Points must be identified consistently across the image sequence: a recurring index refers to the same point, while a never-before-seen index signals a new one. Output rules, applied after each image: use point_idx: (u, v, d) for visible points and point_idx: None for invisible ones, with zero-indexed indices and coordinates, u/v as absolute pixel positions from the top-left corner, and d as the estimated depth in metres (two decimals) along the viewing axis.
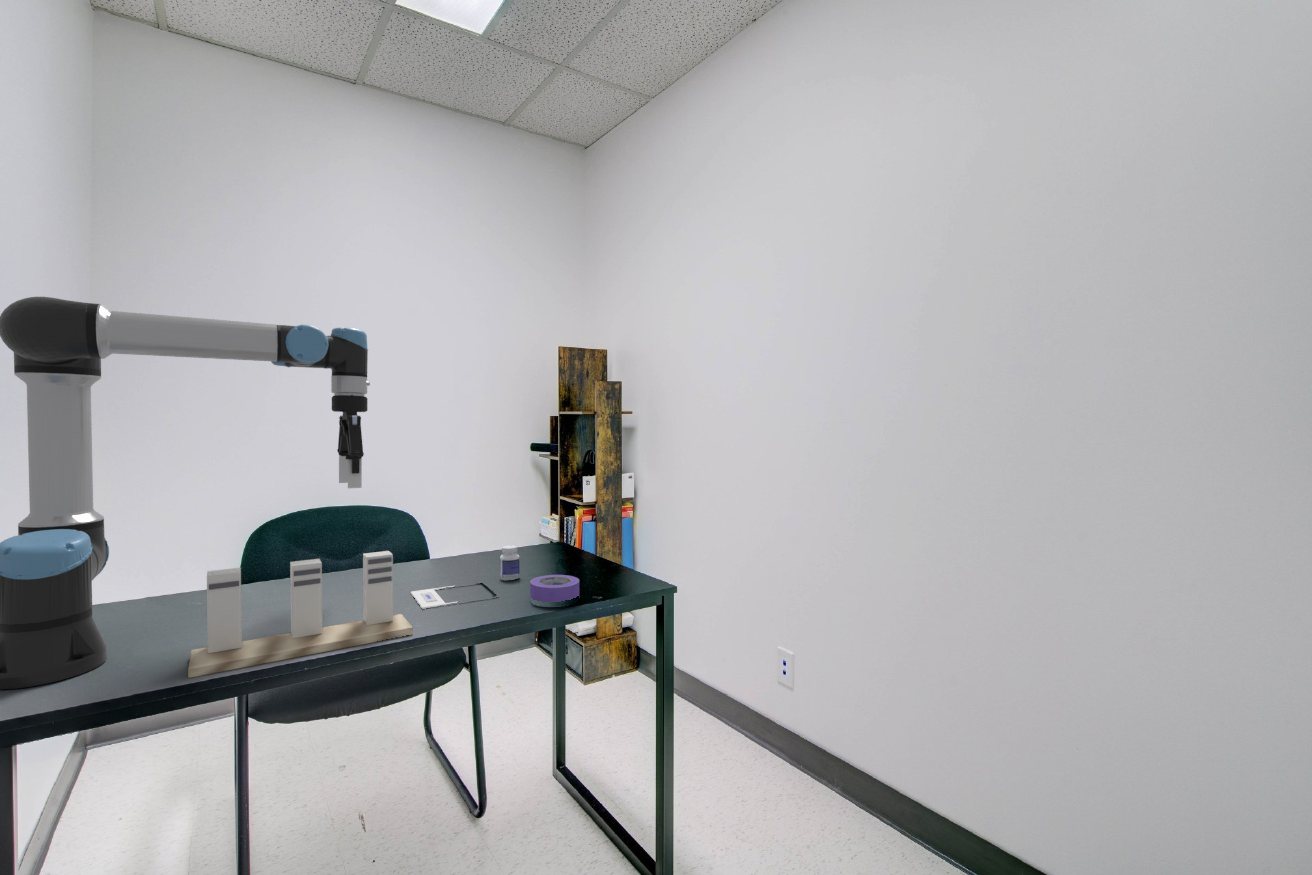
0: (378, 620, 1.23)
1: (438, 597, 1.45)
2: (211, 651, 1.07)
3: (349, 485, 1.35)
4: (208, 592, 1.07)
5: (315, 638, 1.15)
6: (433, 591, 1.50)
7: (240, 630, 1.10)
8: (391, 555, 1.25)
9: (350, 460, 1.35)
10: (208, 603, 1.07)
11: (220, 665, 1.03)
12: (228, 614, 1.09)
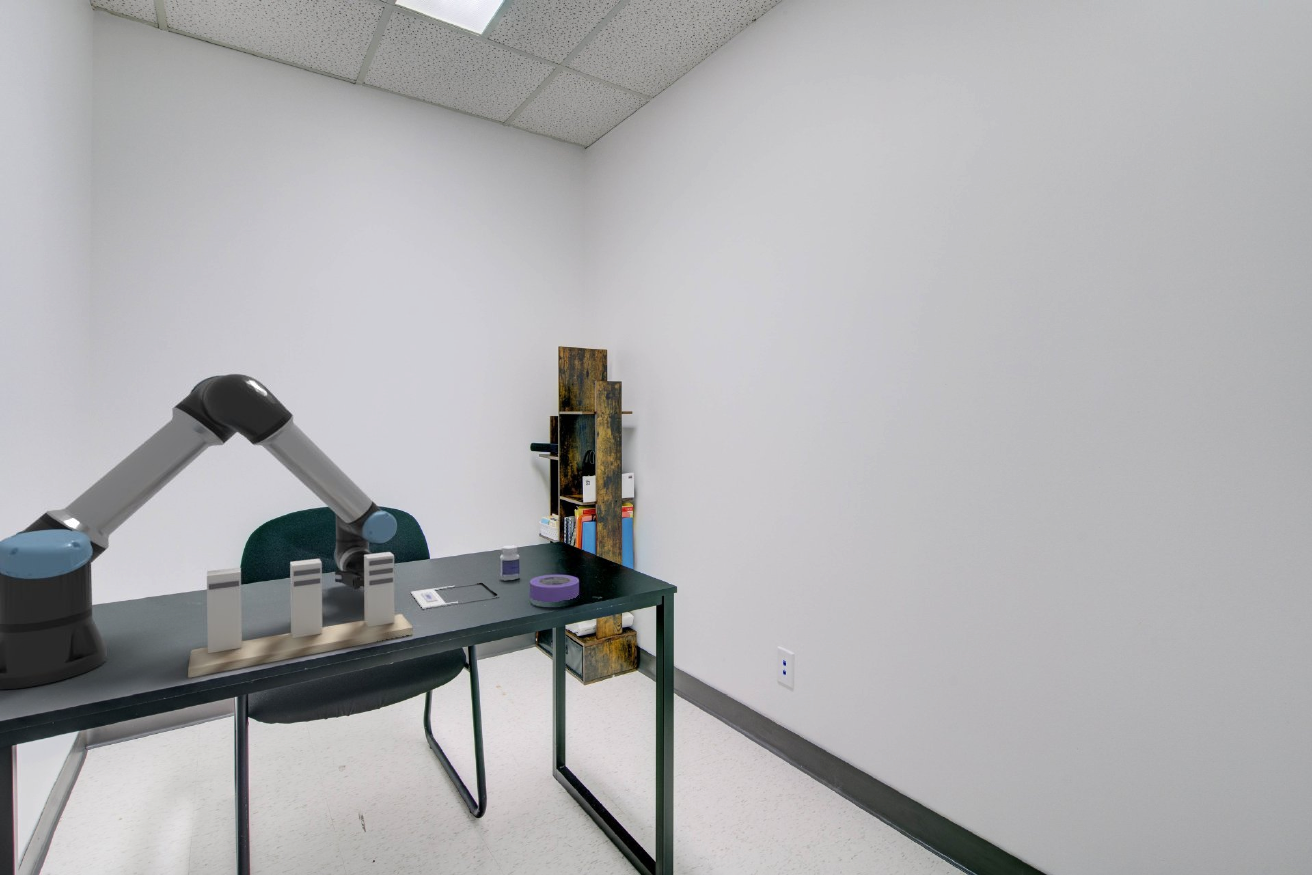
0: (379, 622, 1.22)
1: (438, 597, 1.45)
2: (211, 651, 1.07)
3: None
4: (208, 592, 1.07)
5: (315, 638, 1.15)
6: (433, 591, 1.50)
7: (240, 630, 1.10)
8: (392, 556, 1.23)
9: None
10: (208, 603, 1.07)
11: (220, 665, 1.03)
12: (228, 614, 1.09)
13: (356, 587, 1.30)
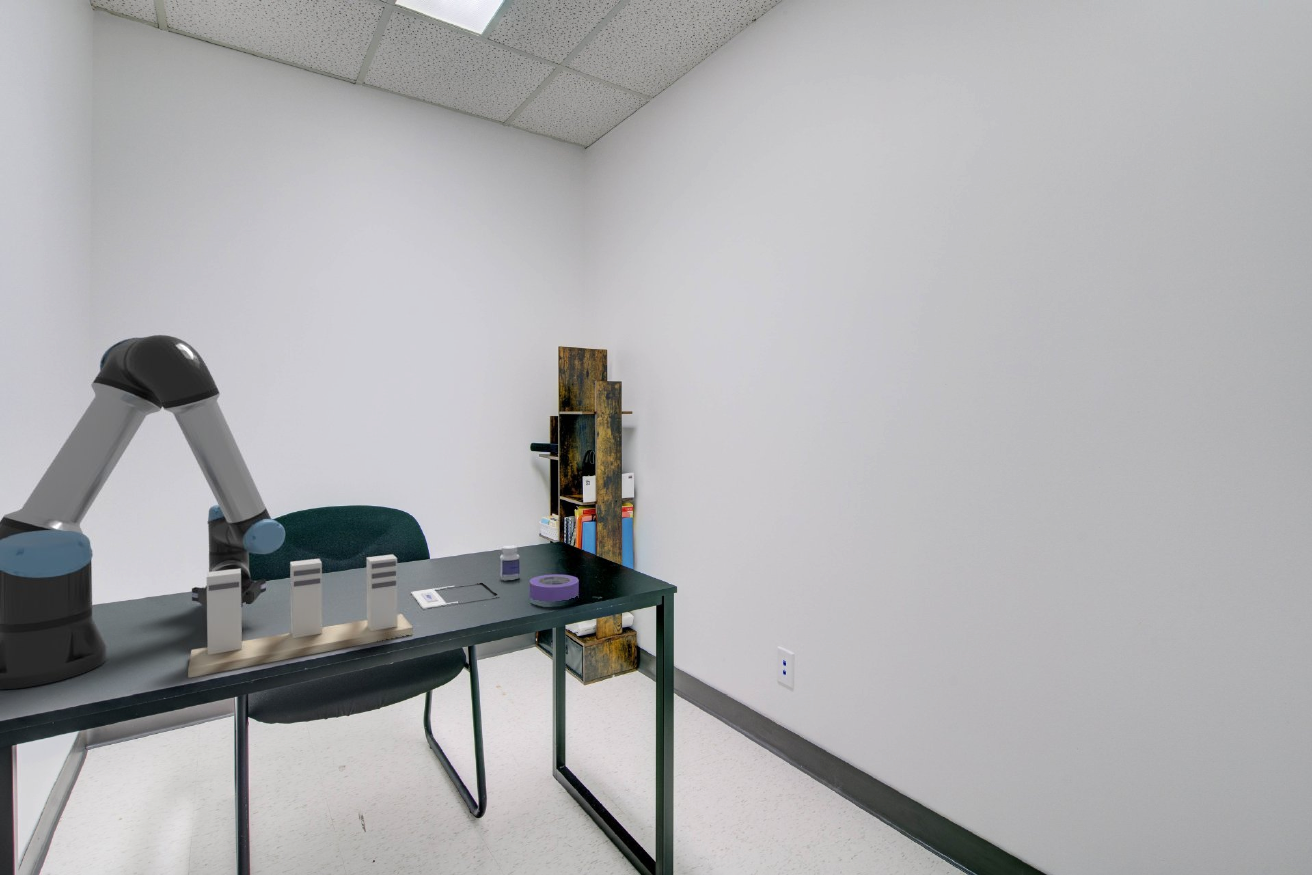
0: (382, 626, 1.20)
1: (439, 597, 1.45)
2: (211, 653, 1.07)
3: None
4: (208, 593, 1.06)
5: (315, 638, 1.15)
6: (433, 591, 1.50)
7: (240, 631, 1.09)
8: (395, 559, 1.21)
9: None
10: (208, 604, 1.06)
11: (220, 665, 1.03)
12: (228, 616, 1.08)
13: None
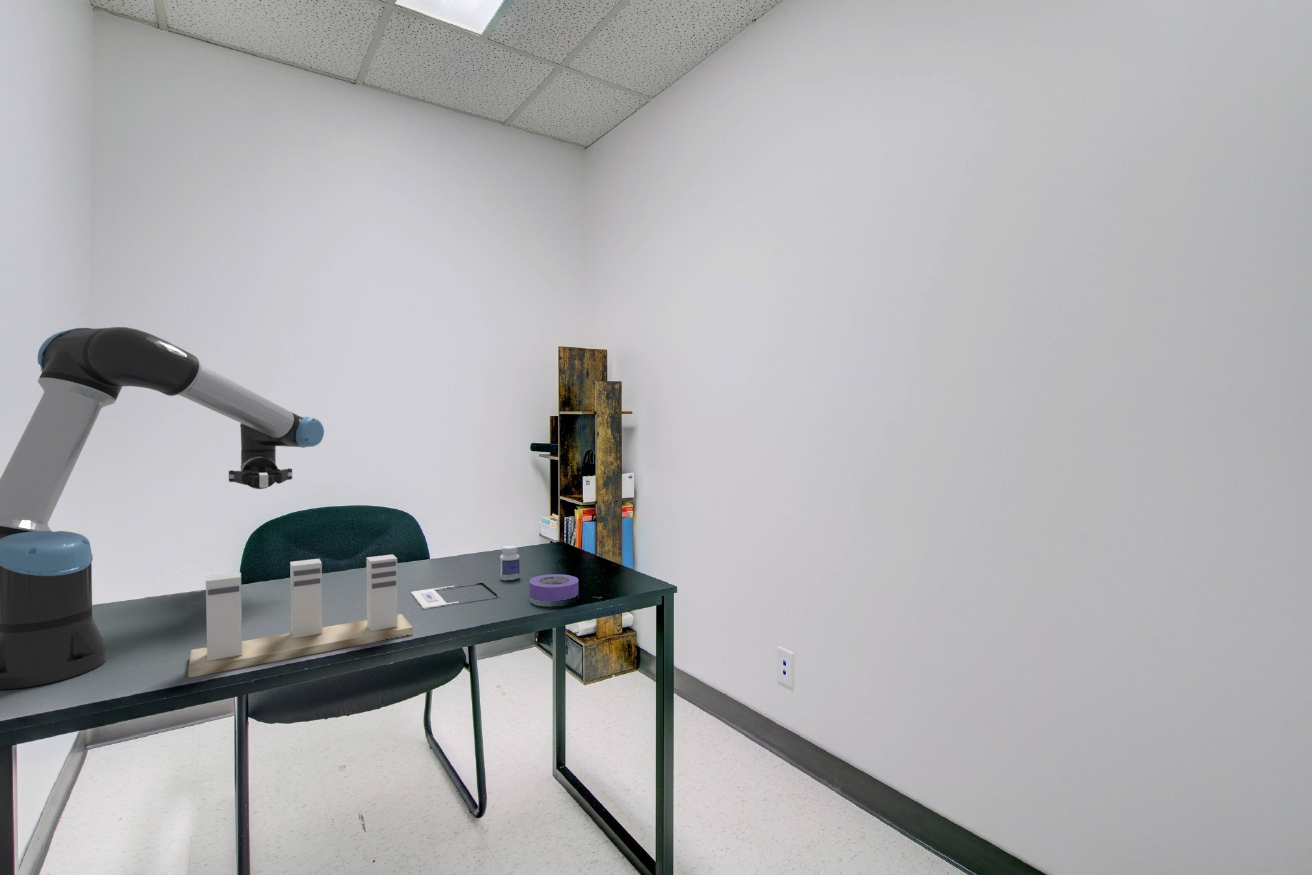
0: (382, 626, 1.20)
1: (439, 597, 1.45)
2: (210, 659, 1.04)
3: (267, 475, 1.30)
4: (207, 598, 1.04)
5: (315, 638, 1.15)
6: (433, 591, 1.50)
7: (240, 637, 1.07)
8: (395, 559, 1.21)
9: (266, 474, 1.35)
10: (207, 609, 1.04)
11: (220, 665, 1.03)
12: (228, 621, 1.05)
13: (244, 483, 1.33)
